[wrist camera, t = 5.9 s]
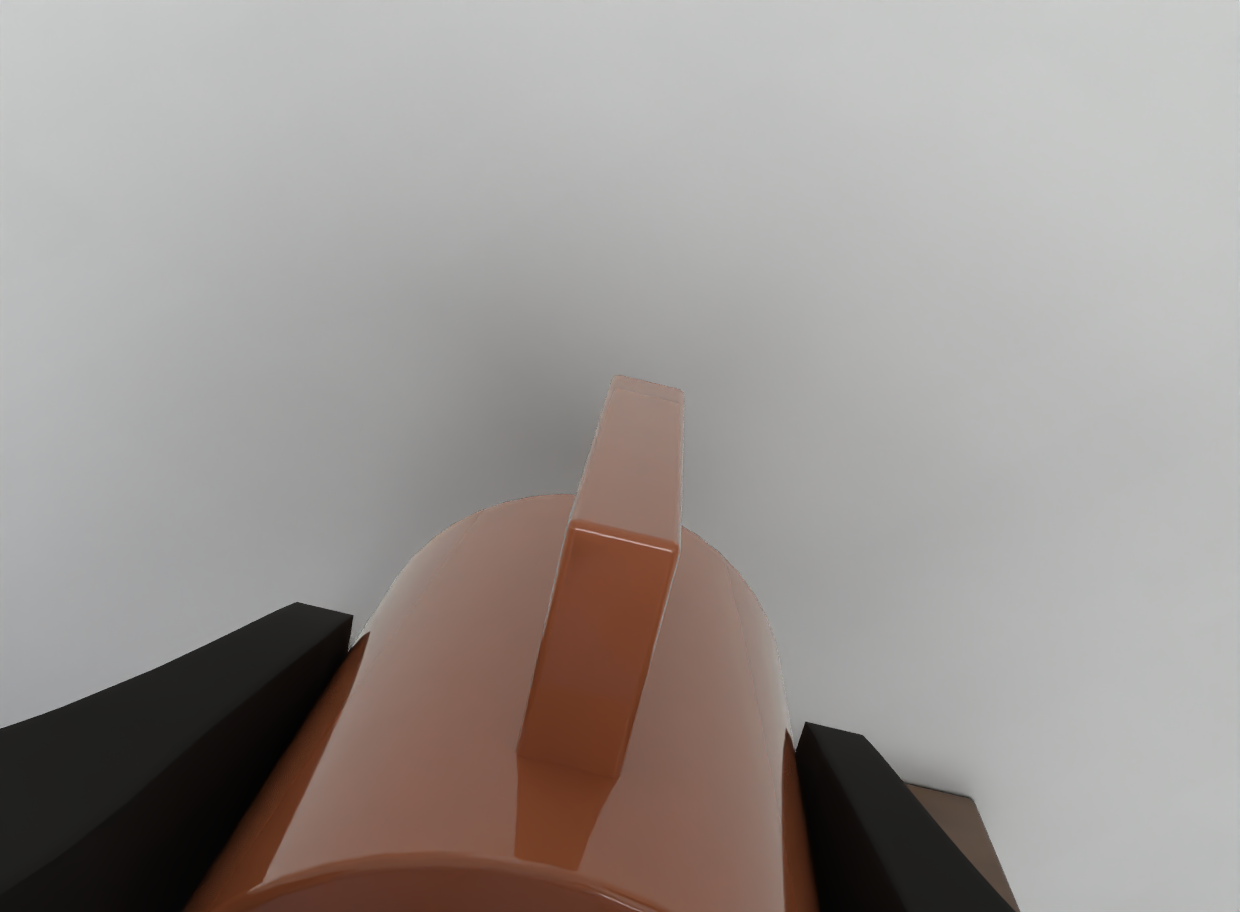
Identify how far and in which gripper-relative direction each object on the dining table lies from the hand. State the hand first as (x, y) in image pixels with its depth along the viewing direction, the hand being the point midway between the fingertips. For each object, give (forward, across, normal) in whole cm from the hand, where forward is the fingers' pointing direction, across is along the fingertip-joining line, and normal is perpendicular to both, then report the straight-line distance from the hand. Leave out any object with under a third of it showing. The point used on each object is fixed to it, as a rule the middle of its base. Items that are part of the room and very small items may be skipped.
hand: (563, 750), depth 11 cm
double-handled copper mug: (+1, 0, 0) cm, 1 cm away
